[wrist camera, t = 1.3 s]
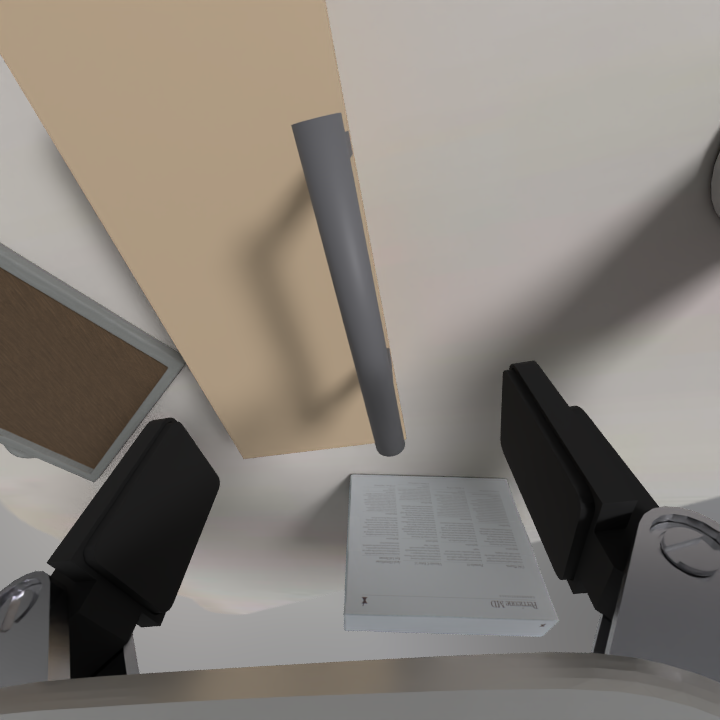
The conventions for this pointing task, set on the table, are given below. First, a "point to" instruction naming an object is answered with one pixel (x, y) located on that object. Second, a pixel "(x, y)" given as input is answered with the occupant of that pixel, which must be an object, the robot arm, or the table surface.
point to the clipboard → (71, 371)
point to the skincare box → (441, 559)
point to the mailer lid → (226, 200)
